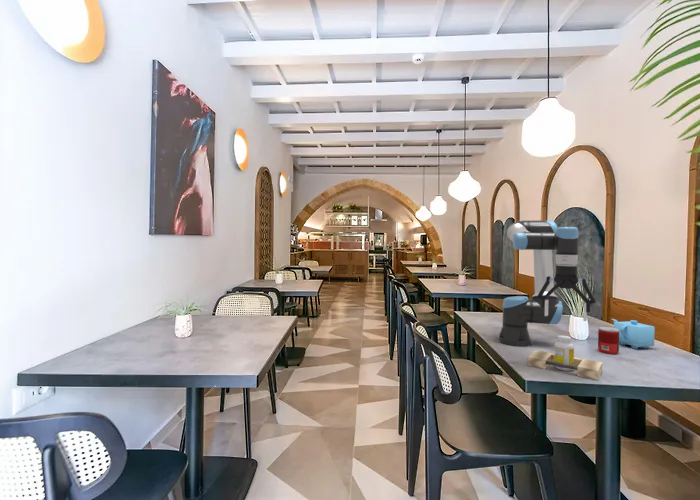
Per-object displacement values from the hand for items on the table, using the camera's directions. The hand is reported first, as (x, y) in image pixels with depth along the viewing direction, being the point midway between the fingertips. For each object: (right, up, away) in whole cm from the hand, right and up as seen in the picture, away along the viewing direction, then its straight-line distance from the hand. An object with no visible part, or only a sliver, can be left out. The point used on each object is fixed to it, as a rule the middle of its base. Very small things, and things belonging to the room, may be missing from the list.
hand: (565, 318), depth 146 cm
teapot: (+54, -21, +38) cm, 69 cm away
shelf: (0, -20, +1) cm, 20 cm away
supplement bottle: (0, -21, 0) cm, 21 cm away
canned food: (+35, -21, +24) cm, 47 cm away
